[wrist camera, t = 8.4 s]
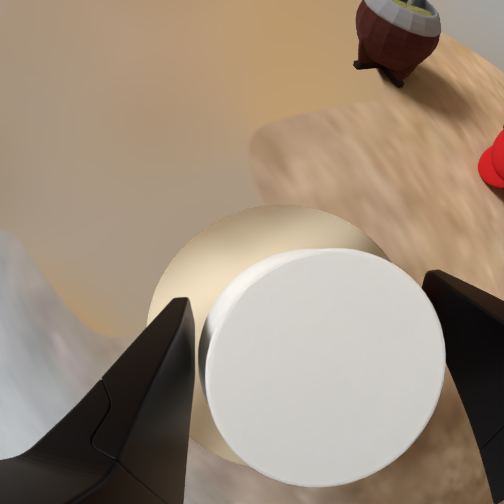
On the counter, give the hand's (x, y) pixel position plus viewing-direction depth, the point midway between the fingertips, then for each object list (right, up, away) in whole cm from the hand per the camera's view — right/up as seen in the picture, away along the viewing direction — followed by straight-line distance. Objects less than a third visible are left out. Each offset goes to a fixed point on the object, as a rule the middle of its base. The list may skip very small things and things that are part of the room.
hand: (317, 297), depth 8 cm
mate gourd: (+10, +19, +15) cm, 26 cm away
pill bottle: (0, -4, +7) cm, 8 cm away
